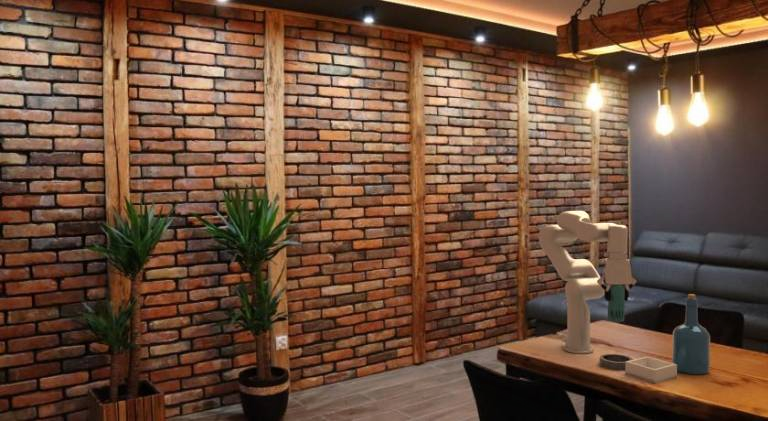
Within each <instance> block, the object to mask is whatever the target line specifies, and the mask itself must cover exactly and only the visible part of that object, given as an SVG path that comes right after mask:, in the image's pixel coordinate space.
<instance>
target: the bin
mask: <svg viewBox="0 0 768 421" xmlns="http://www.w3.org/2000/svg"><path fill="white" fill-rule="evenodd" d="M624 371H625V375H626V376H629V377H632V378H634V379H635V378H636V379H639V380H642V381H644V382H645V381H646V382H648V383H652V384H659V383H662V382H666V381H669V380H674V379H677V377H678V371H677V364H673V363H672V362H670V361H666V360H662V359H658V358H654V357H651V356H648V355H647V356H643V357H639V358H635V359H634V358H633V360H630V361H626V362H625V370H624Z"/></svg>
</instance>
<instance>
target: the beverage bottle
mask: <svg viewBox="0 0 768 421" xmlns="http://www.w3.org/2000/svg"><path fill="white" fill-rule="evenodd" d="M609 291H610V301H607V302H608V303H607V319H608V321H610V322H616V323H621V322H624V321H625V318H626V317H625V310H626V307H625V306H626V305H625V304H626V303H625V302H626V301H625V286H624V285H611V286H610V289H609Z"/></svg>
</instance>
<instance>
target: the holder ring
mask: <svg viewBox="0 0 768 421" xmlns="http://www.w3.org/2000/svg"><path fill="white" fill-rule="evenodd" d="M630 360H634V358H632V357H631V356H629V355H626V354H619V353H618V354H617V353H605V354H601V355H600V356H599V363H598V364H599V366H601V367H602V368H605V369H608V370H614V371H625V362H626V361H630Z"/></svg>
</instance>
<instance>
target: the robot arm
mask: <svg viewBox="0 0 768 421" xmlns="http://www.w3.org/2000/svg"><path fill="white" fill-rule="evenodd" d="M628 231H629V229H628V226H626V225H624V224H616V223H612V222H600V223H599V222H598V223H597V222H596V223H592V220H591V216H590V215H589V214H588V213H587V212H586V211H584V210H567V211H563V212H560V213H559V214H558V216H557V217H556V224H549V225H546V226H543V227H542V228H540V230H539V232H538V242H539V246H540V247H541V249H542V251H543V252H544V254H545V255H546V256H547V257H548V259H549V260H550V261H551V264H552V265H553V267H554V269H555V271H556V272H557V274H558V275H559V277H560V278H561V280H562V281H566V283H565V287H564V292H565V297H566V304H567V305H566V307H567V311H566V312H567V317H566V318H567V322H566V323H567V324H566V325H567V328H566V329H567V331H566V332H567V334H566V336H563V338H562V339H561V342H563V343H565V344H564V346H563V350H564V351H565V352H568V353H573V354H581V355H582V354H583V355H584V354H591V353H593V352H594V349H595V348H594V346H591V310H590V307H589V304H588V303H587V302H586V301H588V300H598V299H601V298H603V297H604V299H605V301H607V302H608V301H610V291H609V289H610V286H611V285H624V286H625V302H628V300H629V298H630V297H629V295H630V294H629V292H630V290H631V289H632V288H633V287H634V285H635V284H637V282H638V281H637V280H636V279H635V278H634V277H633V276H632V269H631V262H630V259H629V258H628V240H629V239H628V237H629V236H628V234H629V232H628ZM578 239H580V240H583V241H586V242H591V243H597V242H598V243H599V242H607V244H606V245H607V247H606V248H607V249H606V250H607V251H606V252H605V253H603V257H606V258H605V261H604V264H603V265H604V266H603V272H602V275H600V273H599V272H598V271H597V269H596V267H595V266H594V264H593V263H592V262H591V261H590V260H588V259H585V258H576V259H575V258H573V257H572V256H571V255H570V253H569V252H568V250H567V249H565V248H564V247H563V246H562V245H560V244H561V243H562V244H563V243H564V244H565V243H572V242H575V241H576V240H578Z"/></svg>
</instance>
